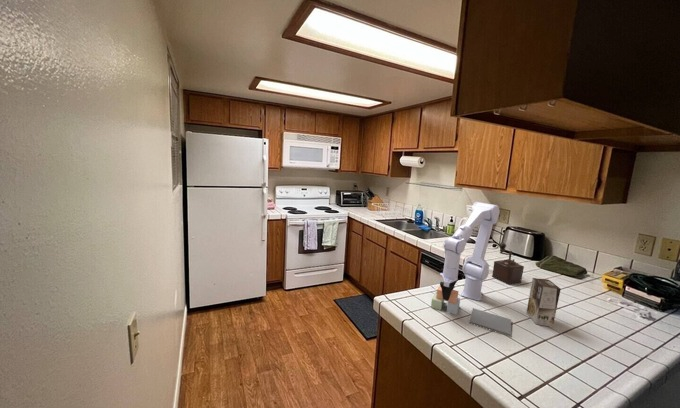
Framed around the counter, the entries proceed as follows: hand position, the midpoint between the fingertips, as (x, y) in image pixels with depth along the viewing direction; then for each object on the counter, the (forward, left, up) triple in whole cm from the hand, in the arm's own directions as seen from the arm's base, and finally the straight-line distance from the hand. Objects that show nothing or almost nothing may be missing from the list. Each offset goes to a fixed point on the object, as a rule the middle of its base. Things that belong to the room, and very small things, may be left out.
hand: (447, 296), depth 120 cm
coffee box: (-14, +34, -5) cm, 37 cm away
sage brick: (0, -3, -5) cm, 6 cm away
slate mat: (+1, +17, -5) cm, 18 cm away
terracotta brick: (0, 0, -1) cm, 1 cm away
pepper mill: (-54, +20, -5) cm, 58 cm away
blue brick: (0, +3, -5) cm, 6 cm away
